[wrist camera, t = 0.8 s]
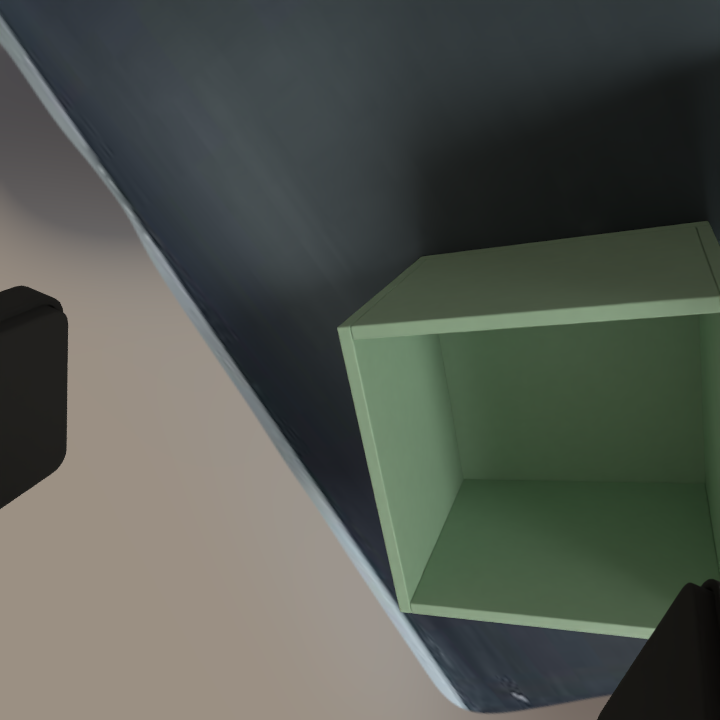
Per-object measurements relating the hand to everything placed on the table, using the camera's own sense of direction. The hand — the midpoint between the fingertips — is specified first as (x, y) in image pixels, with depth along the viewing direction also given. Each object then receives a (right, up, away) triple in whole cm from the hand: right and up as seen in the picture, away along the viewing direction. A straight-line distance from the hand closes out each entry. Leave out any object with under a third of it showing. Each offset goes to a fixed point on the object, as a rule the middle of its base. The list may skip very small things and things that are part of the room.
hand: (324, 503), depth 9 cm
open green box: (+12, +2, +27) cm, 29 cm away
